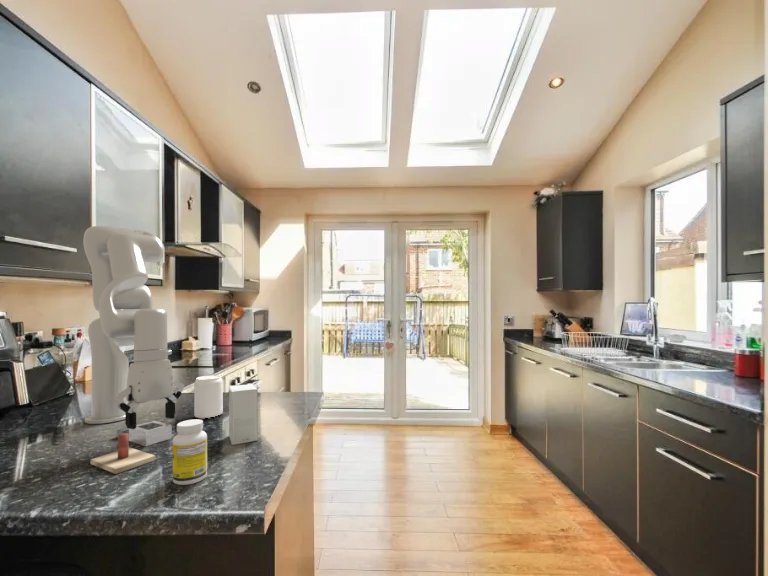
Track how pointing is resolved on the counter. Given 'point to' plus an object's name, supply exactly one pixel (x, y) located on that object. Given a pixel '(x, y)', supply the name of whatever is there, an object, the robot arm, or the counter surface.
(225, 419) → the counter surface
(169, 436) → the white hollow block
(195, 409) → the beverage can
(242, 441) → the small box
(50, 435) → the counter surface
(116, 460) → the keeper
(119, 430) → the grey plaster slab
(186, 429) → the pill bottle
